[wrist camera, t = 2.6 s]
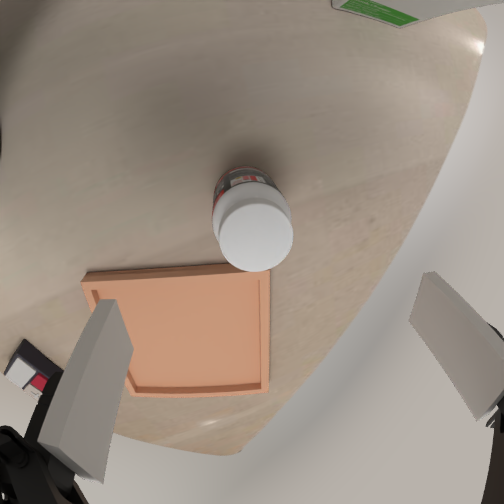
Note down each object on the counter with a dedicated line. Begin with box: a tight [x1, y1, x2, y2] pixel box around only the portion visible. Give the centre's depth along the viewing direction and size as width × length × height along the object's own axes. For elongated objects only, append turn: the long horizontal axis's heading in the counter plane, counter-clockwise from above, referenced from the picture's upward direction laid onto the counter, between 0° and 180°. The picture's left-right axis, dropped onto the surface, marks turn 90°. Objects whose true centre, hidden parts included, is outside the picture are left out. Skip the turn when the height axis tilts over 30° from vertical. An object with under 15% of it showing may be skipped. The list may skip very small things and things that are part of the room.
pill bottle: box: [212, 166, 293, 272], centre depth 22 cm, size 6×6×10 cm
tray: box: [81, 263, 270, 398], centre depth 33 cm, size 20×20×2 cm
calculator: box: [4, 339, 64, 401], centre depth 35 cm, size 11×4×15 cm
